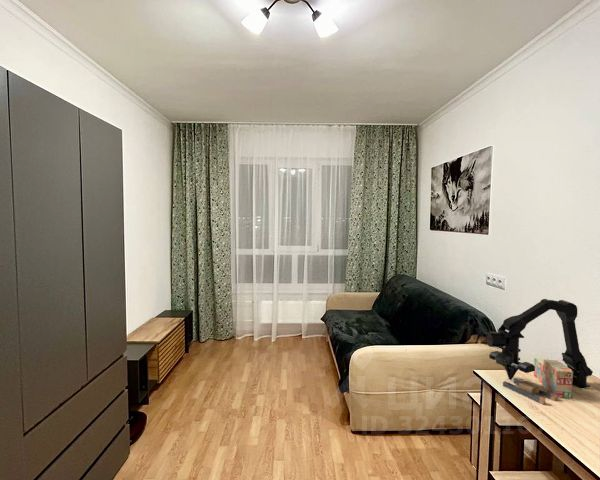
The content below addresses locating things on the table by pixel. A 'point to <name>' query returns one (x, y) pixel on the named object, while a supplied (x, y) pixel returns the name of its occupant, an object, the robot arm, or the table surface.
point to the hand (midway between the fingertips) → (510, 379)
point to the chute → (530, 395)
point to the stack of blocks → (554, 376)
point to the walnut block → (529, 387)
